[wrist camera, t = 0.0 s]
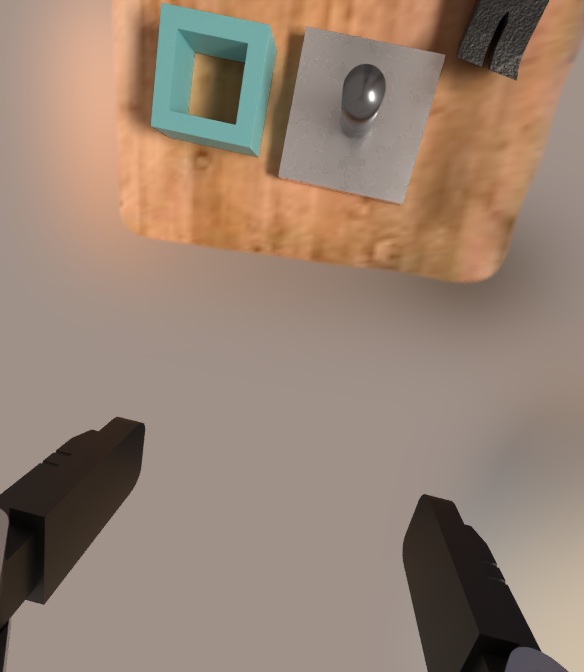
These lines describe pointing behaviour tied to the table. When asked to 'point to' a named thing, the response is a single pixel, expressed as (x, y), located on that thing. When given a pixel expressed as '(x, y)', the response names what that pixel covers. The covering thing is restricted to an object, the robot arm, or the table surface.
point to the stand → (358, 114)
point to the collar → (177, 67)
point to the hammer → (500, 33)
